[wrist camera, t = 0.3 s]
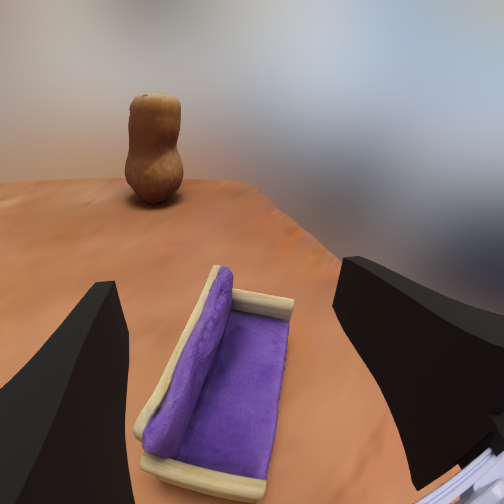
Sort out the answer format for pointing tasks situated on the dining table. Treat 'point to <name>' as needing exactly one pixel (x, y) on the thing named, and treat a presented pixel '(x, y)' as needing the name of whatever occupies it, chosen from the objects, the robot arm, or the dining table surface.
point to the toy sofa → (219, 394)
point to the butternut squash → (154, 147)
